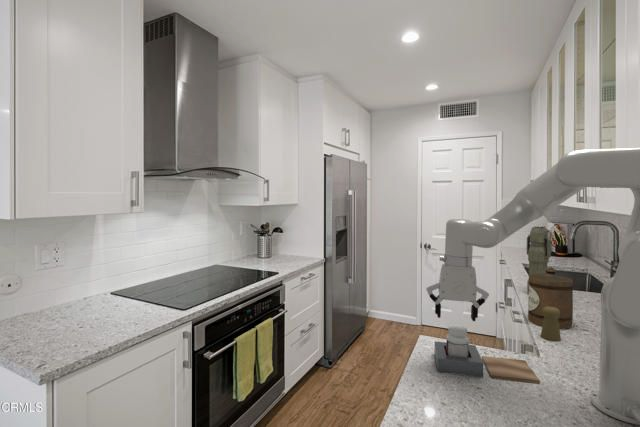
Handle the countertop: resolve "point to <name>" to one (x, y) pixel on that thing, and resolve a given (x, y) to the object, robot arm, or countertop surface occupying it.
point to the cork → (551, 324)
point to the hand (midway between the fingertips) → (455, 318)
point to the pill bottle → (457, 341)
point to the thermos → (538, 251)
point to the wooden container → (550, 297)
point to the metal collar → (458, 361)
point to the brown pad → (509, 369)
